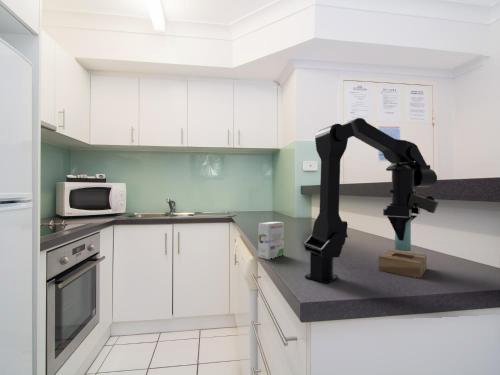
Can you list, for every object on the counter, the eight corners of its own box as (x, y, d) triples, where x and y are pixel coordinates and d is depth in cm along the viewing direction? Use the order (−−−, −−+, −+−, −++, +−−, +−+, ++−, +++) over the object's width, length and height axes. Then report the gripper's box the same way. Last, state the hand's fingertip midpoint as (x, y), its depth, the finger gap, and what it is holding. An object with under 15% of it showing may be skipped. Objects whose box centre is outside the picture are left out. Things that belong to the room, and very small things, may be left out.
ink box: (273, 253, 92) (273, 220, 92) (284, 255, 89) (284, 222, 89) (257, 257, 86) (257, 222, 86) (268, 260, 83) (268, 223, 83)
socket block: (420, 278, 66) (420, 263, 66) (378, 270, 73) (378, 256, 73) (426, 268, 75) (426, 255, 75) (389, 262, 82) (389, 249, 82)
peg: (409, 251, 71) (409, 216, 72) (393, 249, 74) (393, 215, 74) (411, 249, 74) (411, 215, 75) (396, 247, 77) (396, 214, 77)
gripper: (432, 185, 62) (432, 248, 62) (439, 187, 76) (440, 239, 76) (382, 185, 70) (382, 242, 69) (398, 187, 84) (397, 234, 83)
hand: (402, 239), depth 74 cm, fingers closed on peg, 4 cm apart
